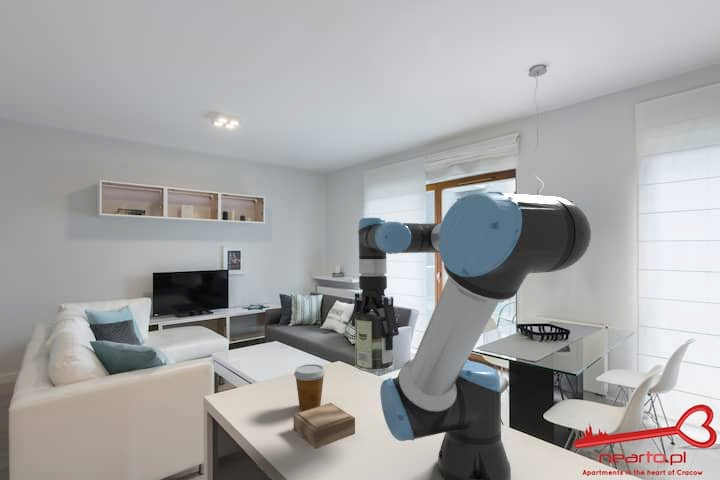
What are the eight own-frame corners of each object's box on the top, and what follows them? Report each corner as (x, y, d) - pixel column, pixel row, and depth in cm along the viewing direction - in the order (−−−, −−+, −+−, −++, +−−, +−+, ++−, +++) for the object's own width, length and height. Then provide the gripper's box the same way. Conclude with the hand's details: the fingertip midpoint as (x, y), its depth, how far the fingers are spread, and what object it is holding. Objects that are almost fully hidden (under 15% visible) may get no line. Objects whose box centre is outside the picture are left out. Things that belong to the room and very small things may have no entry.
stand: (355, 433, 96) (354, 416, 96) (315, 448, 88) (315, 430, 89) (331, 416, 105) (330, 401, 105) (293, 429, 98) (293, 412, 98)
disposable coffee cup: (328, 401, 116) (327, 364, 116) (322, 415, 106) (321, 374, 106) (299, 400, 116) (298, 363, 117) (290, 414, 107) (290, 373, 107)
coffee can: (394, 361, 101) (394, 310, 102) (390, 373, 91) (390, 317, 92) (358, 359, 103) (358, 309, 104) (351, 371, 93) (350, 316, 94)
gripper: (412, 276, 91) (413, 364, 91) (358, 272, 109) (359, 346, 109) (390, 277, 87) (391, 371, 86) (338, 273, 105) (339, 350, 104)
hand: (373, 357), depth 97 cm, fingers closed on coffee can, 10 cm apart
